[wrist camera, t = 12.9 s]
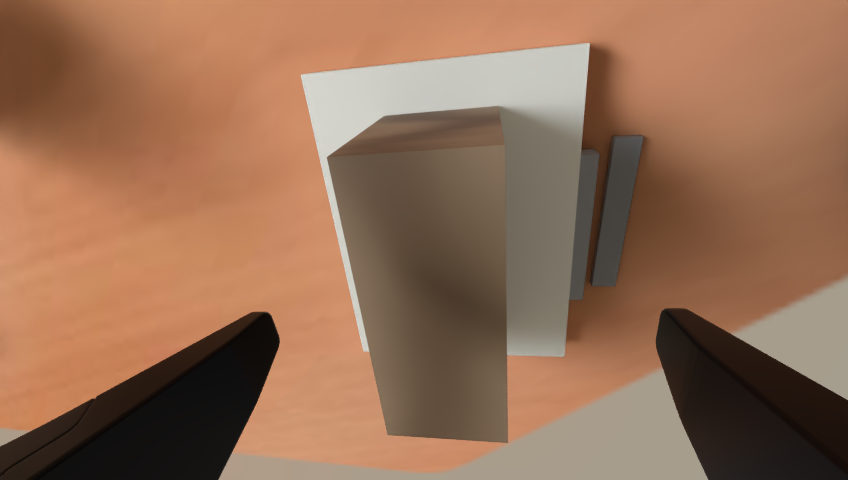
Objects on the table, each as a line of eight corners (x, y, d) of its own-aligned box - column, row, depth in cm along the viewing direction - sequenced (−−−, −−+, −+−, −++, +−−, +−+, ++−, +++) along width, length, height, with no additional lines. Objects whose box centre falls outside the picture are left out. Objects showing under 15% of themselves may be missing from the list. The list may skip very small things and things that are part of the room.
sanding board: (581, 43, 16) (590, 43, 15) (560, 338, 23) (564, 356, 22) (314, 72, 18) (300, 74, 17) (369, 335, 25) (363, 351, 24)
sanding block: (497, 105, 16) (504, 144, 10) (501, 328, 22) (507, 442, 15) (384, 115, 17) (326, 157, 11) (414, 327, 22) (387, 435, 16)
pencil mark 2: (615, 137, 17) (609, 134, 18) (591, 286, 21) (588, 278, 22) (643, 136, 17) (637, 132, 18) (615, 286, 21) (610, 278, 21)
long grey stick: (575, 148, 18) (593, 147, 18) (563, 287, 22) (578, 287, 22) (580, 154, 17) (599, 154, 17) (567, 299, 21) (582, 300, 21)
